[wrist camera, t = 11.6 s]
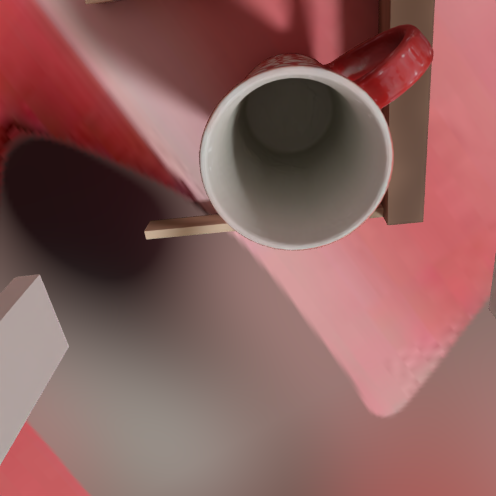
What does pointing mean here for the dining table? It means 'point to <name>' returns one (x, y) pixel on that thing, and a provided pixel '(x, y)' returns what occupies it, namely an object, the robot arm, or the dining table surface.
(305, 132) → the mug
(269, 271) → the dining table surface
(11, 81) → the dining table surface
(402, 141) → the channel
